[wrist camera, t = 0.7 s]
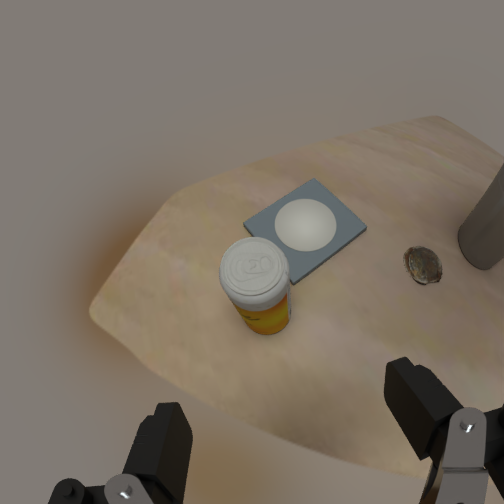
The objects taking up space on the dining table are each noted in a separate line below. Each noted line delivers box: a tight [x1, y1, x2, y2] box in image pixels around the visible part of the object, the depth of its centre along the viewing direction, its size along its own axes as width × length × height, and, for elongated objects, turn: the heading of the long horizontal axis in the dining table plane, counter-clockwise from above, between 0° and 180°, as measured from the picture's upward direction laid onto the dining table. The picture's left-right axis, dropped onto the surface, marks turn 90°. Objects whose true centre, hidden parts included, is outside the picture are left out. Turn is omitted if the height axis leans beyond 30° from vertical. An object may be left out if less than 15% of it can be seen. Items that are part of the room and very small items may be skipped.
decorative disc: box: [403, 246, 442, 285], centre depth 36 cm, size 6×6×1 cm
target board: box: [243, 178, 367, 285], centre depth 41 cm, size 14×12×1 cm
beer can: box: [219, 237, 291, 335], centre depth 30 cm, size 6×6×15 cm
